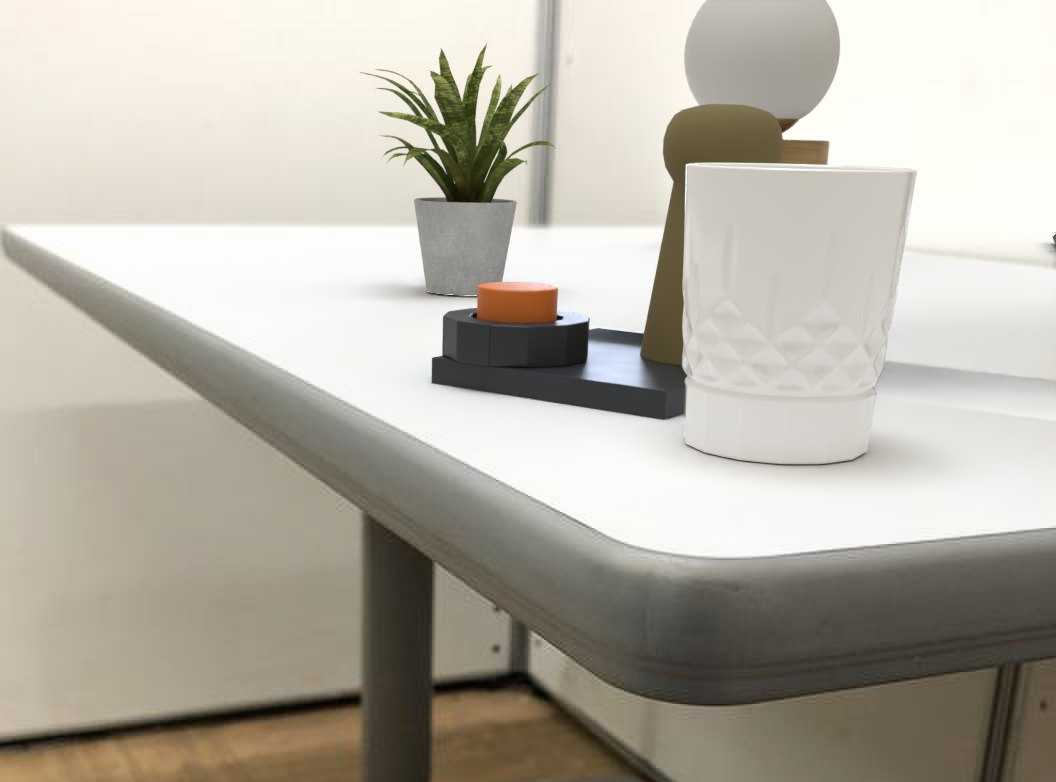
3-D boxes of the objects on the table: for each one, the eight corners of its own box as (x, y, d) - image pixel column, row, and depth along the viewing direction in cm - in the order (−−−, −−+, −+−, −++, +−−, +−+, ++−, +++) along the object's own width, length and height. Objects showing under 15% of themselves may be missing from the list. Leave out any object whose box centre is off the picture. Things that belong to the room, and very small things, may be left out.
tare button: (507, 318, 66) (508, 280, 65) (571, 325, 64) (573, 286, 63) (460, 325, 63) (461, 285, 63) (526, 333, 61) (528, 292, 61)
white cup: (624, 442, 53) (640, 162, 49) (745, 417, 58) (767, 162, 55) (807, 481, 47) (839, 170, 44) (922, 449, 53) (958, 169, 49)
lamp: (760, 262, 127) (787, -42, 119) (640, 249, 137) (658, -32, 129) (854, 254, 137) (885, -27, 129) (736, 243, 147) (757, -18, 138)
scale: (584, 349, 75) (587, 291, 74) (809, 378, 67) (816, 314, 66) (414, 382, 64) (415, 315, 63) (660, 421, 57) (666, 346, 56)
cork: (631, 362, 63) (648, 101, 59) (647, 344, 68) (663, 104, 65) (769, 371, 62) (795, 104, 58) (774, 351, 67) (797, 107, 64)
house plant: (359, 277, 106) (359, 45, 101) (541, 280, 107) (551, 50, 102) (353, 300, 93) (353, 33, 88) (562, 303, 93) (574, 39, 88)
